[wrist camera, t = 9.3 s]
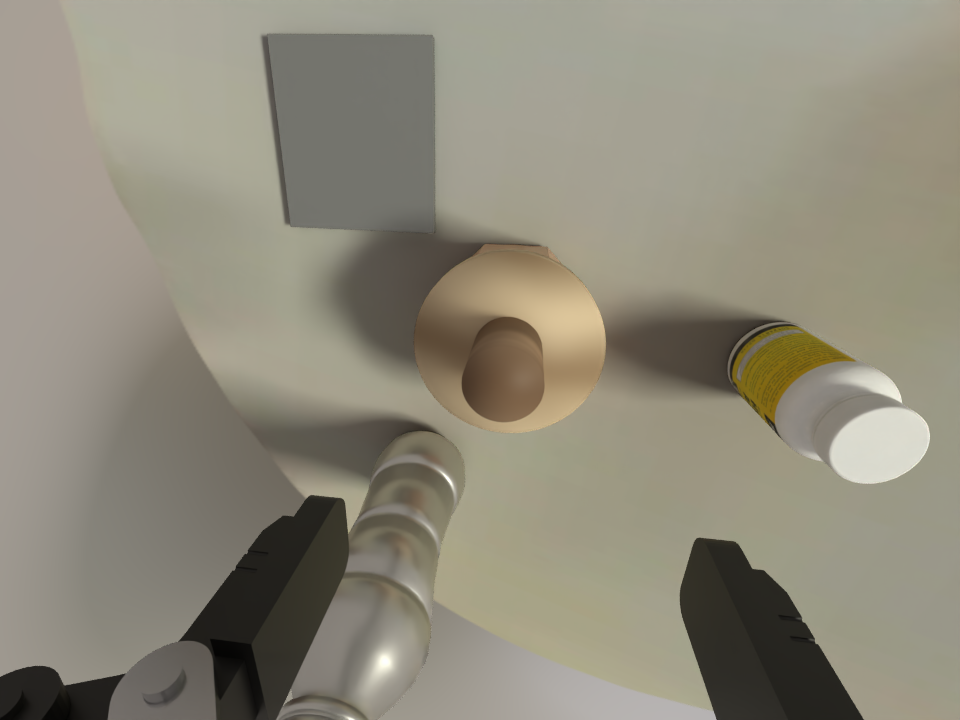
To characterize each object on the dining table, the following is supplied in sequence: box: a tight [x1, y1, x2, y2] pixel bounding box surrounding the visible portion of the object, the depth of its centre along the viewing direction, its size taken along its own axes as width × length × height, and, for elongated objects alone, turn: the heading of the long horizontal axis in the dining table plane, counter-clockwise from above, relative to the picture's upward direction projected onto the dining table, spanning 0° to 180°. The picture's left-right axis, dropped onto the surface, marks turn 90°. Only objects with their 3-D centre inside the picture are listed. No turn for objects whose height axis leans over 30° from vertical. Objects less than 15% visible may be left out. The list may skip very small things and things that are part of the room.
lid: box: [414, 249, 606, 433], centre depth 22 cm, size 10×10×6 cm
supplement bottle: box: [727, 322, 930, 484], centre depth 24 cm, size 5×5×10 cm
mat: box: [267, 34, 435, 233], centre depth 26 cm, size 10×9×1 cm
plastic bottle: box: [276, 431, 465, 720], centre depth 25 cm, size 6×7×20 cm
